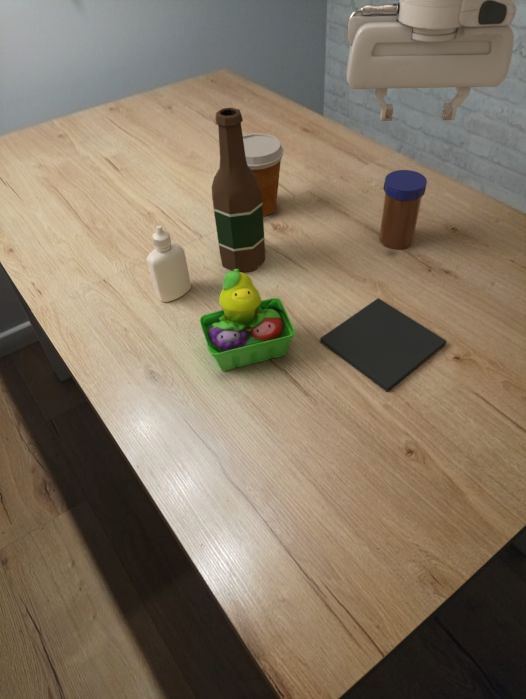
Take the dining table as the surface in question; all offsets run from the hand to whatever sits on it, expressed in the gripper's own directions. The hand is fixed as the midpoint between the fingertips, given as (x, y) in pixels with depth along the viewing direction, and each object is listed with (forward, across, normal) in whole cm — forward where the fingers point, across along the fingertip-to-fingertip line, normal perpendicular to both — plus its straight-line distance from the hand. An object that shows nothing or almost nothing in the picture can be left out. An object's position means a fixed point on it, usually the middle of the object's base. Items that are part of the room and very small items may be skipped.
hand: (416, 119), depth 72 cm
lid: (+10, 0, 0) cm, 10 cm away
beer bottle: (+20, -25, -6) cm, 33 cm away
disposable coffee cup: (+20, -24, +10) cm, 33 cm away
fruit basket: (+20, -22, -25) cm, 40 cm away
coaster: (+20, -4, -24) cm, 32 cm away
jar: (+20, 0, 0) cm, 20 cm away
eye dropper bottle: (+21, -35, -14) cm, 43 cm away
